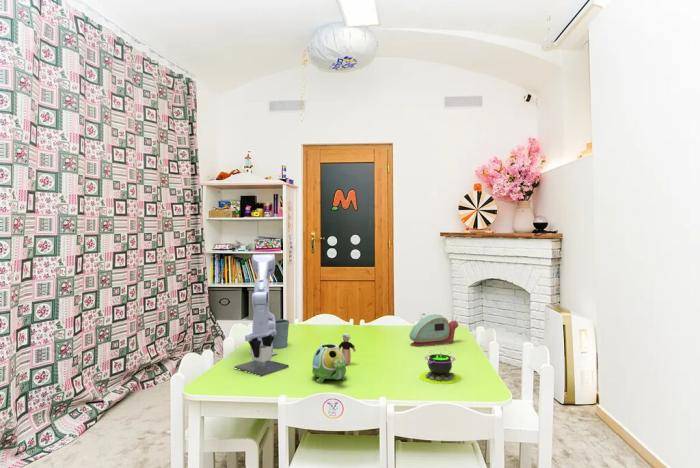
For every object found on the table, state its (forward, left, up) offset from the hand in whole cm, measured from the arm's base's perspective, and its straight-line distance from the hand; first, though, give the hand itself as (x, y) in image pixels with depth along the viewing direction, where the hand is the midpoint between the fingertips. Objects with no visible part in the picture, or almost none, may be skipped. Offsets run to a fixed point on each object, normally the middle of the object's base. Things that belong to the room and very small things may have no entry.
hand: (261, 355), depth 183 cm
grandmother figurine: (+24, +24, -5) cm, 34 cm away
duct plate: (0, 0, -5) cm, 5 cm away
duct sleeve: (0, 0, -1) cm, 1 cm away
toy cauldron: (+62, +31, -5) cm, 70 cm away
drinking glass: (-20, +28, -5) cm, 35 cm away
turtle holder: (+31, +6, -5) cm, 32 cm away
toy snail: (+37, +76, -5) cm, 84 cm away
